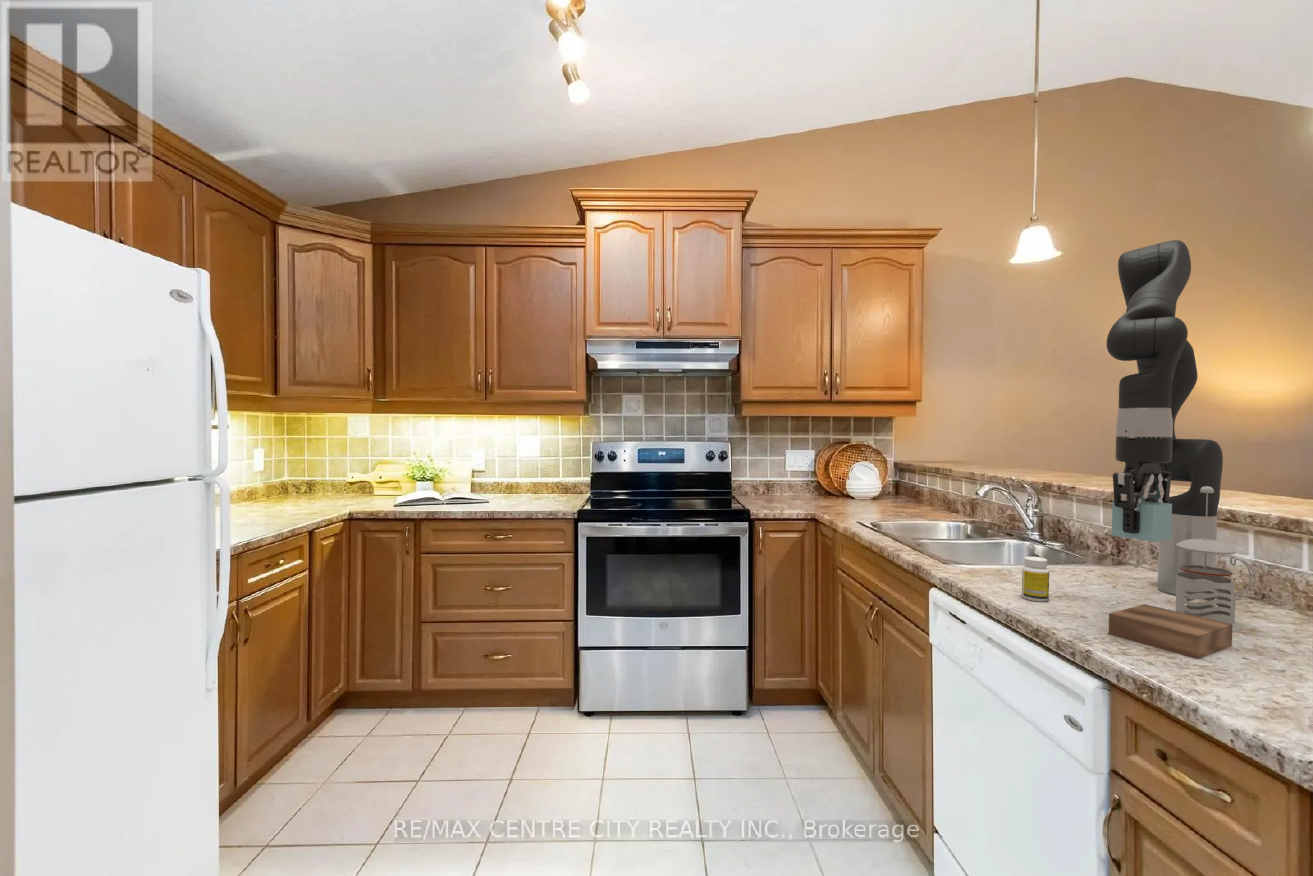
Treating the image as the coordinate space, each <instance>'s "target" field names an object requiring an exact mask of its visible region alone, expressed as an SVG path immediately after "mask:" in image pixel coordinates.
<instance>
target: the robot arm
mask: <svg viewBox="0 0 1313 876" xmlns="http://www.w3.org/2000/svg"><path fill="white" fill-rule="evenodd" d="M1117 270H1118V276H1119V277H1118V278H1119V282H1120V286H1121V290H1122V295H1123V298H1124V301H1125V305H1126V310H1125V312H1124V313H1123V315H1122V316H1121V317H1119V318H1118V319H1117V320H1116V321H1115V322H1114V324H1112V326H1111V328H1110V330H1109V331H1108V333H1107V337H1106V349H1107V352H1108V354H1109V355H1110V356H1111V357H1112V358H1113V359H1115V360H1117V361H1122V362H1123V361H1124V362H1133V361H1134V362H1135V361H1136V367H1137V371H1138V373H1133V374H1129V375H1125V376H1123V377H1122V378H1121V379H1120V380H1119V385H1118V412H1117V417H1116V423H1115V424H1116V425H1115V430H1116V431H1115V460H1116V461H1118V462H1122V463H1125V465H1124V469H1123V472H1113V474H1112V486H1113V487H1112V488H1113V501H1114V505H1115V507H1120V509H1121V510H1123V531H1124V532H1126V533H1133V534H1137V533H1139V532H1140V512H1139V511H1140V508H1141V504H1142V501H1148V502H1157V503H1168V504H1172V528H1171V539H1167V540H1160V541H1158V562H1157V565H1158V566H1157V567H1158V568H1157V590H1159V591H1161V592H1163V593H1164V592H1165V593H1167V594H1171V595H1175V596H1176V580H1177V573H1180V572H1186V571H1184V570H1181V569H1180V567H1179V566H1180V565H1187V564H1189V565H1190V564H1191V565H1192V564H1193V565H1200V566H1201V565H1202V566H1205V553H1199V552H1192V551H1187V550H1183V549H1180V548H1178V547H1177V545H1176V544H1177V543H1179V542H1182V541H1184V540H1189V539H1202V538H1205V530H1206V495H1207V493H1202V492H1200V489H1201V488H1202V487H1204V486H1208V487H1212V488H1213V490H1214V493H1208V508H1207V538H1208V539H1210V540H1214V541H1217V539H1218V538H1217V535H1218V531H1217V529H1218V508H1219V503H1220V499H1221V498H1220V497H1221V482H1222V476H1223V464H1224V463H1223V462H1224V457H1223V450H1222V448H1221V446H1220V444H1219V443H1218V442H1217V441H1215V440H1213V439H1202V438H1201V439H1200V438H1199V439H1198V438H1177V437H1176V432H1175V431H1176V430H1175V422H1176V419H1177V415H1178V413H1179V411H1180V410H1181V408H1182V407H1183V405H1184V403H1185V402H1186V401H1187V399H1188V397H1189V396H1190V395H1191V393H1192V391H1193V390H1194V388H1195V386H1196V384H1197V381H1198V368H1197V367H1198V366H1197V361H1196V358H1195V350H1194V348H1193V345H1192V344H1191V343H1190V341H1188V340H1187V339H1188V333H1189V332H1188V327H1187V325H1186V323H1185V322H1184V321H1183V320H1182V319H1180V318H1178V317H1176V310H1177V303H1178V300H1179V297H1180V296H1181V295H1182V293H1183V291H1184V289H1185V287H1186V286H1187V283H1188V282H1189V280H1190V277H1191V274H1192V273H1191V272H1192V260H1191V255H1190V250H1189V249H1188V246H1187V245H1186V243H1185V242H1183V241H1181V240H1177V239H1173V240H1167V241H1162V242H1159V243H1155V244H1151V245H1148V246H1143V247H1139V248H1135V249H1133V250H1128V251H1126V252H1123V253H1121V254H1120V255H1119V258H1118V261H1117ZM1172 481H1173V482H1174V481H1175V482H1185V483H1190V487H1189V489H1188V490H1187V491H1185V492H1183V493H1179V494H1177V495H1172V496H1170V493H1171V483H1172ZM1134 500H1135V502H1134ZM1206 566H1207V567H1208V566H1209V567H1212V568H1213V567H1214V568H1215V567H1216V568H1217V554H1207V553H1206ZM1194 580H1198V581H1204V582H1212V581H1209V580H1206V579H1194ZM1212 583H1214V582H1212ZM1208 591H1211V592H1214V593H1216V590H1214V589H1213V590H1208ZM1186 592H1189V591H1188V590H1185V593H1186ZM1190 595H1198V596H1201V595H1206V593H1193V594H1190ZM1210 598H1212V599H1214V597H1210Z"/></svg>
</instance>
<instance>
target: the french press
mask: <svg viewBox="0 0 1313 876" xmlns="http://www.w3.org/2000/svg"><path fill="white" fill-rule="evenodd" d="M1200 492H1202V493H1207V495H1206V530H1205V538H1202V539H1189V540H1184V541H1182V542H1179V543H1177V544H1176V545H1177V547H1178V548H1180V549H1183V550H1187V551H1192V552H1199V553H1205V566H1202V565H1201V566H1200V565H1193V564H1192V565H1191V564H1190V565H1189V564H1187V565H1180V566H1179V567H1180V569H1181V570H1184V571H1186V572H1180V573H1177V580H1176V595H1175V611H1176V612H1181V613H1185V614H1190V615H1194V616H1198V617H1203V618H1207V619H1211V620H1216V621H1220V622H1224V623H1229V624H1232V632H1235V631H1240V630H1242V628H1241V626H1240V625H1239V624H1238V623H1237V622H1236V621H1235V618H1236V617H1235V615H1236V614H1235V613H1236V601H1237V600H1239V599H1242V598H1247V596H1249V595H1250V594H1252V592H1253V591H1254V590H1255V587H1256V585H1257V574H1256V572H1255V570H1254V568H1253V567H1252V566H1251V564H1249V563H1248V562H1247V561H1245V560H1243V559H1242V558H1239V557H1236V556H1231V557H1229V563H1230V565H1231V566H1233V567H1234V566H1235V567H1236V564H1237V561H1240V562H1241V563H1242V564H1244V565H1245V566H1246V569H1247V571H1248V574H1249V581H1248V584H1247V586H1246V587H1245V589H1244V590H1242V591H1241V592H1238V593H1235V581H1234V580H1233V581H1232V579H1230V578H1227V577H1229V576H1232V575H1233V572H1232V571H1231V570H1228V569H1226V568H1220V567H1217V566H1216V567H1215V568H1214V567H1213V568H1212V567H1209V566H1208V567H1207V566H1206V553H1207V554H1216V555H1224V556H1225V555H1227V556H1228V555H1235V554H1236V553H1237V550H1236V549H1234V548H1233V547H1232V546H1230V545H1228V544H1226V543H1223V542H1220V541H1214V540H1210V539H1208V538H1207V508H1208V493H1214V490H1213V488H1212V487H1208V486H1204V487H1202V488H1201V489H1200ZM1233 559H1234V560H1233ZM1251 571H1252V572H1251ZM1252 574H1253V576H1252ZM1194 579H1206V580H1209V581H1212V582H1214V583H1212V582H1204V581H1198V580H1194ZM1252 579H1253V583H1252ZM1251 584H1252V587H1251V589H1250V591H1249V592H1248V593H1246V592H1247V591H1248V590H1249V588H1250V586H1251ZM1213 589H1214V590H1215V593H1214V592H1211V591H1208V590H1213ZM1185 590H1188V591H1189V592H1186V593H1185ZM1193 593H1206V595H1201V596H1198V595H1190V594H1193ZM1244 593H1246V594H1245V595H1243V594H1244ZM1241 595H1242V596H1241ZM1210 597H1213V598H1210ZM1214 598H1216V599H1214ZM1195 600H1204V601H1201V602H1200V601H1199V602H1197V601H1196V602H1193V601H1195ZM1191 601H1192V602H1191ZM1214 605H1216V606H1214Z"/></svg>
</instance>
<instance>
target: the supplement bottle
mask: <svg viewBox="0 0 1313 876" xmlns="http://www.w3.org/2000/svg"><path fill="white" fill-rule="evenodd" d="M1023 563H1024V564H1023V565H1024V566H1022V567H1021V568H1022V569H1021V571H1022V572H1021V597H1022V598H1023V599H1026V600H1028V601H1032V602H1040V603H1044V602H1048V601H1049V598H1050V570H1049V569H1048V568H1047V567H1048V565H1049V564H1048V559H1046V558H1044V557H1038V556H1025V557H1024V562H1023Z"/></svg>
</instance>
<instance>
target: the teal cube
mask: <svg viewBox="0 0 1313 876" xmlns="http://www.w3.org/2000/svg"><path fill="white" fill-rule="evenodd" d="M1135 500H1136V499H1134V502H1135ZM1111 504H1112V507H1111V509H1112V510H1111V536H1114V537H1120V538H1127V539H1134V540H1139V541H1147V542H1159V541H1160V540H1167V539H1171V528H1172V504H1168V503H1157V502H1148V501H1142V504H1141V508H1140V511H1139V512H1140V532H1139V533H1137V534H1133V533H1126V532H1124V531H1123V510H1121V509H1120V507H1115V505H1114V500H1113V501H1112V503H1111Z"/></svg>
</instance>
